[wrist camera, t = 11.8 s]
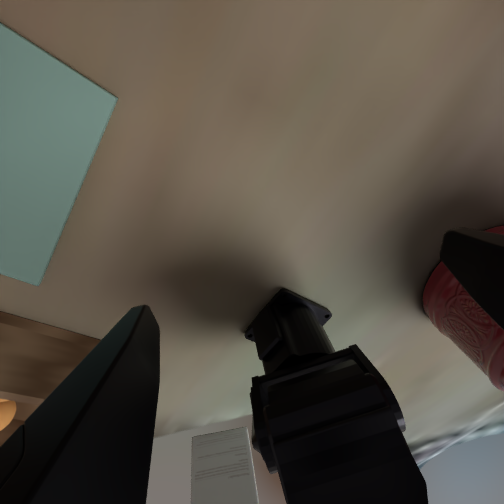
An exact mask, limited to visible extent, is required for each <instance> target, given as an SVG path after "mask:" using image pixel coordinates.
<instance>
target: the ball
mask: <svg viewBox="0 0 504 504" xmlns="http://www.w3.org/2000/svg"><path fill="white" fill-rule="evenodd" d="M15 412H16V403H15V401H11V400H9V401H5V402H0V431H1V430H2V429H4V428H5V427H6V426H7V425H8V424H9V423H10V422H11V421H12V419H13V417H14V415H15Z"/></svg>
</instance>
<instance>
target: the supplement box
mask: <svg viewBox="0 0 504 504" xmlns="http://www.w3.org/2000/svg"><path fill="white" fill-rule="evenodd" d="M191 471H192V472H191V504H259V500H258V494H257V487H256V480H255V473H254V467H253V460H252V454H251V448H250V442H249V436H248V430H247V427H242V428H237V429H232V430H227V431H221V432H216V433H211V434H205V435H200V436H195V437H192V470H191Z"/></svg>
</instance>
